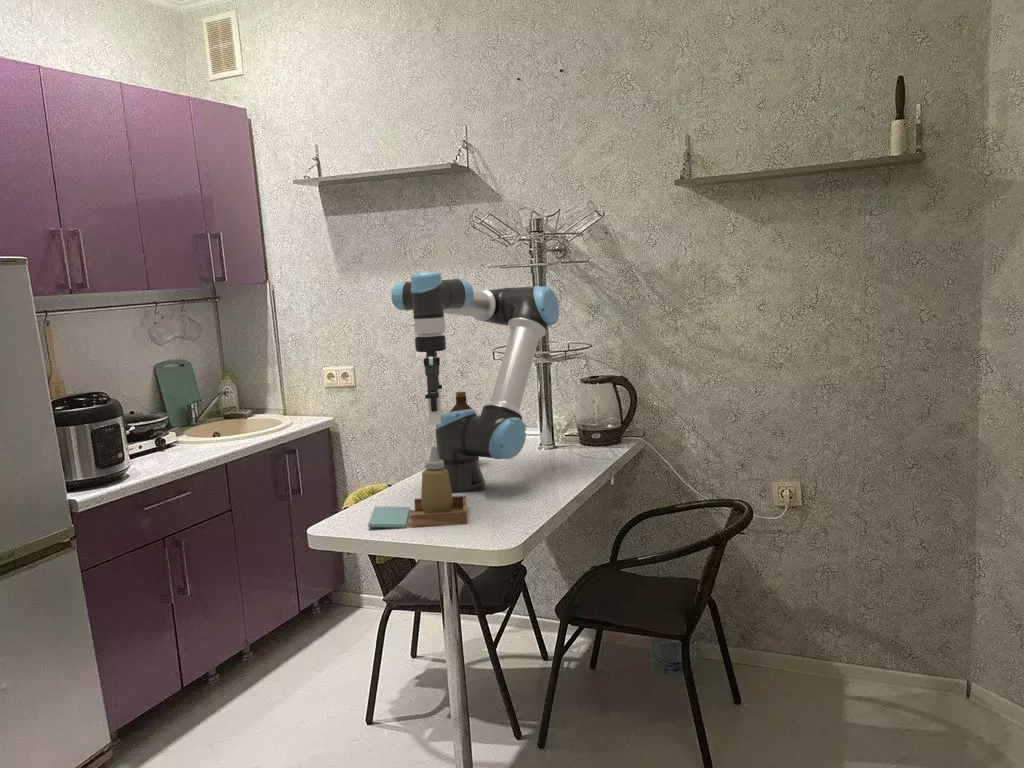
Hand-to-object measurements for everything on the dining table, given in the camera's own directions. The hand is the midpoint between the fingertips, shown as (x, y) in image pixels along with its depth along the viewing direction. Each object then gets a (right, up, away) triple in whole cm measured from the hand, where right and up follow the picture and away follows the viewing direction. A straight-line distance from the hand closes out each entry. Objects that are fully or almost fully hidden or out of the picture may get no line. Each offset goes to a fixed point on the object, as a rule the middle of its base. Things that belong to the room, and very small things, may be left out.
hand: (435, 419), depth 192 cm
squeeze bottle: (0, -25, +1) cm, 25 cm away
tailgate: (-7, -25, +1) cm, 26 cm away
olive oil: (+4, -19, +60) cm, 63 cm away
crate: (+1, -26, +1) cm, 26 cm away
